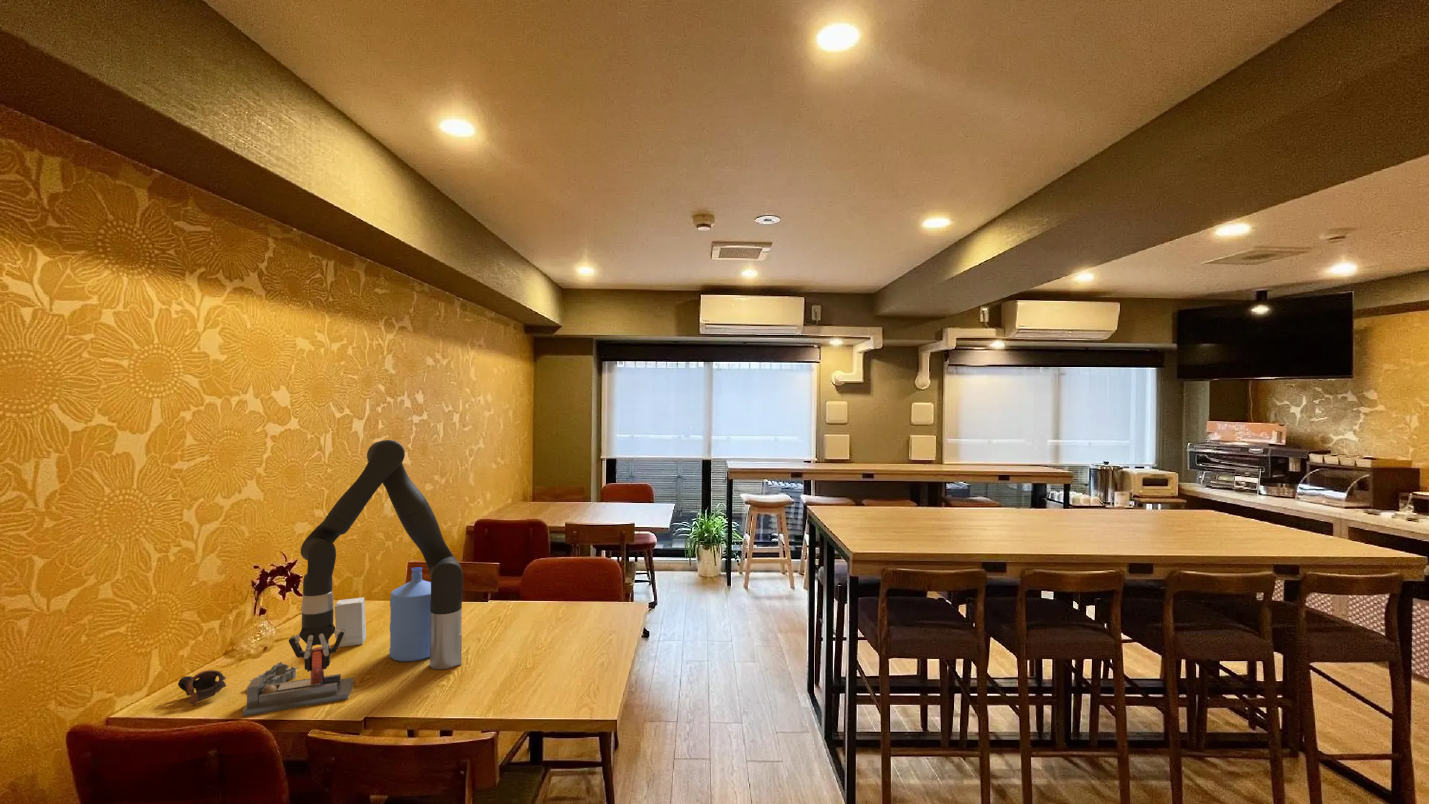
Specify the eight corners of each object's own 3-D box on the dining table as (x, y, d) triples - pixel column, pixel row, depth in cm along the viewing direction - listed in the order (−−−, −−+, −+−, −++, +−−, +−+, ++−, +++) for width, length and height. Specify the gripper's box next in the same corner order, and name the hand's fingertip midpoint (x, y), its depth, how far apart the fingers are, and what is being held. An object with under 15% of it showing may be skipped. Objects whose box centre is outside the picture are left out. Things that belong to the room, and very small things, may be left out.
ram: (325, 685, 173) (325, 645, 173) (322, 691, 170) (322, 651, 170) (280, 692, 169) (281, 651, 169) (277, 698, 165) (277, 657, 165)
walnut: (278, 694, 169) (278, 681, 169) (275, 700, 165) (275, 686, 165) (262, 696, 167) (262, 683, 167) (259, 702, 164) (259, 689, 164)
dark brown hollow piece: (234, 688, 176) (234, 669, 173) (211, 717, 168) (211, 698, 164) (189, 680, 174) (187, 661, 171) (163, 710, 166) (162, 690, 162)
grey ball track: (353, 682, 179) (353, 660, 179) (347, 699, 169) (348, 676, 169) (254, 697, 169) (254, 674, 169) (242, 716, 159) (242, 692, 159)
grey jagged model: (282, 673, 185) (282, 660, 185) (301, 677, 183) (301, 663, 183) (247, 689, 175) (247, 675, 175) (267, 693, 173) (267, 678, 173)
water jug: (421, 664, 192) (421, 576, 191) (378, 660, 195) (378, 573, 195) (451, 645, 207) (452, 563, 207) (411, 641, 210) (412, 561, 210)
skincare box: (366, 638, 212) (366, 596, 212) (362, 645, 206) (362, 601, 206) (338, 641, 209) (338, 598, 209) (334, 648, 203) (334, 604, 203)
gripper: (348, 601, 177) (348, 659, 177) (291, 607, 171) (290, 668, 171) (344, 609, 170) (344, 670, 170) (284, 616, 164) (284, 679, 165)
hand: (317, 668), depth 171 cm, fingers closed on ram, 3 cm apart
